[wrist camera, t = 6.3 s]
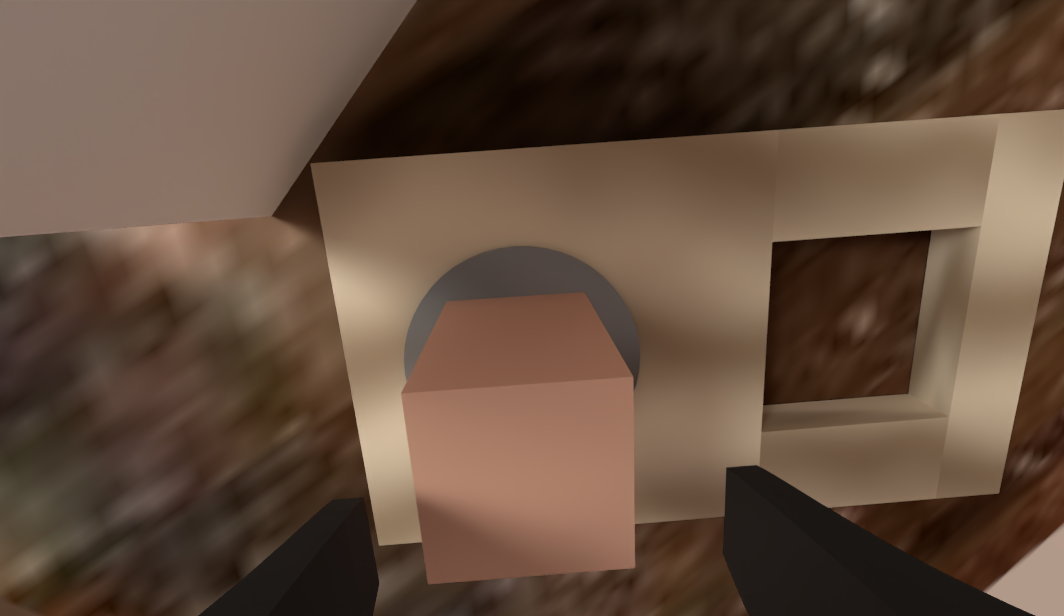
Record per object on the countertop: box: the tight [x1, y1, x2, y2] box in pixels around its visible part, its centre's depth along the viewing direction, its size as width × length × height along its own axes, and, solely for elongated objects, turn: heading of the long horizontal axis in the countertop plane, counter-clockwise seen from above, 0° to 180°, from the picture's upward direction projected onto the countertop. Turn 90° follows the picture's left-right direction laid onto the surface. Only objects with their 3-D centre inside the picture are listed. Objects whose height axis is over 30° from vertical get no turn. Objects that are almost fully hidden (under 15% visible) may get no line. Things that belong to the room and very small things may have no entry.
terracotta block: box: [401, 292, 635, 584], centre depth 14 cm, size 4×4×7 cm
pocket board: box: [310, 109, 1064, 546], centre depth 18 cm, size 14×24×2 cm, turn 94°
